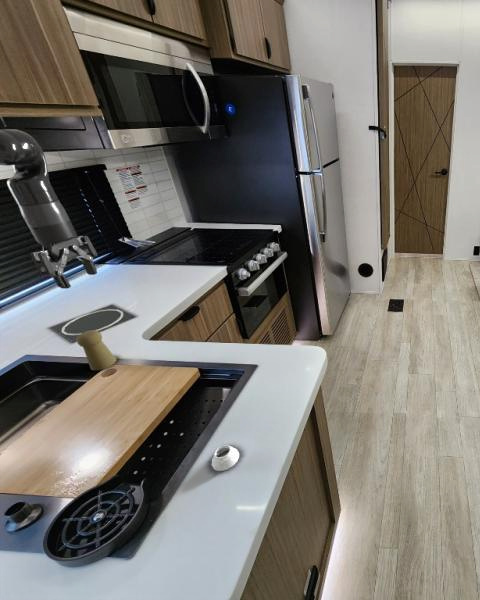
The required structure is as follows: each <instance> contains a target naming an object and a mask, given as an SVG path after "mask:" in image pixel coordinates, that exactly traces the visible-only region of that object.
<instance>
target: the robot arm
mask: <svg viewBox="0 0 480 600" xmlns="http://www.w3.org/2000/svg"><path fill="white" fill-rule="evenodd" d="M0 166H4V167H5V166H6V167H7V166H8V167H9V166H12V168H13V175H12V176H11V177H9V178H8V179H7V180H6V185H7V188H8V190H9V192H10V193H11V196H12V197H13V199H14V201H15V203H16V204H17V205H18V208H19V212H20V213H21V216H22V218H23V220H24V221H25V223H26V225H27V227H28V228H29V230H30V233H31V234H32V235H33V238H34V239H35V242H37V243H38V244H40V245H41V246H42V250H41V251H35V252H34V251H33V252H30V257H31V259H32V261H33V263H34V265H35V267H36V269H37V272H38V273H39V275H40V276H41V277H52V279H53V281H54V282H55V284H56V285H57V287H58V288H60V289H70V288H71V287H72V286H71V284H70V283H71V282H70V281H69V280H68V278H67V276H66V274H65V273H64V269H65V267H66V266H67V263H68V262H70V261H71V260H73V259H78V260H79V261H81V264H82V266H83V268H84V270H85V272H86V274H87V275H88V276H95V275H97V274H98V270H97V267H96V265H95V263H94V258H96V257H98V252H97V251H96V249H95V247H94V245H93V244H92V241H91V240H90V237H89V236H88V235H78V234H77V231H76V230H75V228H74V225H73V223H72V221H71V219H70V217H69V216H68V213H67V212H66V209H65V207H64V206H63V205H62V203H61V202H60V200H59V197H58V196H57V194H56V192H55V190H54V188H53V186H52V185H51V182H50V177H49V170H48V165H47V160H46V155H45V153H44V150H43V149H42V146H41V145H40V143H39V142H38V141H37V139H35V138H34V137H33V136H32V135H30V134H29V133H27V132H25V131H24V130H19V129H16V128H15V129H12V128H9V129H0Z"/></svg>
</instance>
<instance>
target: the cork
mask: <svg viewBox="0 0 480 600" xmlns="http://www.w3.org/2000/svg"><path fill="white" fill-rule="evenodd" d="M76 340H77V341H76V343H77V345H78V346H79V347H82V348H83V351H84V354H85V357H86V359H87V363H88V365H89V369H90V370H91V371H96V372H97V371H101V370H105V369H107V368H110V367H111V366H113V365H114V364H115V363H116V362H117V358H116V356H115V355H114V354H113V353H112V351H111V350H110V349H109V348H108V346H107V345H106V344H105V343H104V341H103V336H102V333H101V331H100V332H98V331H95V330H92V331H87V332H84V333H82V334H80V335H79V336H78V337H77V339H76Z"/></svg>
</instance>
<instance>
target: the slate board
mask: <svg viewBox="0 0 480 600" xmlns="http://www.w3.org/2000/svg"><path fill="white" fill-rule="evenodd" d="M134 318H136V315H133V314H131V313H129V312H127V311H125V310H123V309H121V308H119V307H116V306H115V305H113V304H110V305H107V306H104V307H102V308H99V309H96V310H94V311H91V312H88V313H85V314H83V315H80V316H77V317H74V318H72V319H69V320H66V321H63V322H61V323H58V324H55V325H52V326H50V329H52V330H53V331H54V332H56V333H57V334H59V335H60V336H62V337H63V338H65V339H66V340H68V341H69V342H71V343H72V344H74V343H77V340H76V339H77V337H78V336H79V335H80V334H82V333H84V332H87V331H92V330H95V331H98V332H100V333H101V332H102V331H105V330H108V329H110V328H112V327H115V326H117V325H119V324H120V325H121V324H122V323H124V322H126V321H130V320H131V319H134Z"/></svg>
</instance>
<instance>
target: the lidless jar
mask: <svg viewBox="0 0 480 600" xmlns="http://www.w3.org/2000/svg"><path fill="white" fill-rule="evenodd" d="M226 451H228V452H227V453H226V454H225V455H223V456H220V455H221V454H222V453H224V452H226ZM219 456H220V457H219ZM239 459H240V452H239V451H238V449H237V448H235V447H233V446H231V445H228V444H224V445H220V446H219V447H217V449H215V451H214V453H213V457H212V459H211V466H212V468H213V470H215V471H217V472H223V471H227V470H229V469H230V468H232V467H234V465H235V464H237V462H238V460H239Z"/></svg>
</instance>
